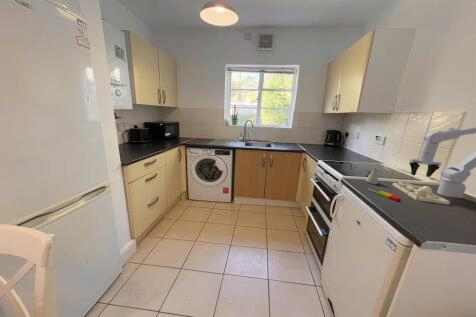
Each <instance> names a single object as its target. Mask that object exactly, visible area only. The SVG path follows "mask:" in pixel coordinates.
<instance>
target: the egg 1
mask: <svg viewBox="0 0 476 317" xmlns="http://www.w3.org/2000/svg"><path fill="white" fill-rule="evenodd" d="M415 195H416V196H418V197H423V198H426V196H427V191H426V190H424V189H417V190H416V192H415Z"/></svg>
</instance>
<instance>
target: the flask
mask: <svg viewBox="0 0 476 317" xmlns="http://www.w3.org/2000/svg"><path fill="white" fill-rule="evenodd" d="M379 169H380V168H379V167H376V166H375V167H374V166H372V171H371V173H370V174H369V175H368V177H366V178H365V182H366V183H369V184H372V185H378V184H379V176H378V172H379V171H378V170H379Z"/></svg>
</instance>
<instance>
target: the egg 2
mask: <svg viewBox="0 0 476 317" xmlns="http://www.w3.org/2000/svg"><path fill="white" fill-rule="evenodd" d="M421 187H422V188H421V189H424V190H426V191H427V194H430V195H431V192H432V193H433V189H432V187H430V186H428V185H424V186H421Z"/></svg>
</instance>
